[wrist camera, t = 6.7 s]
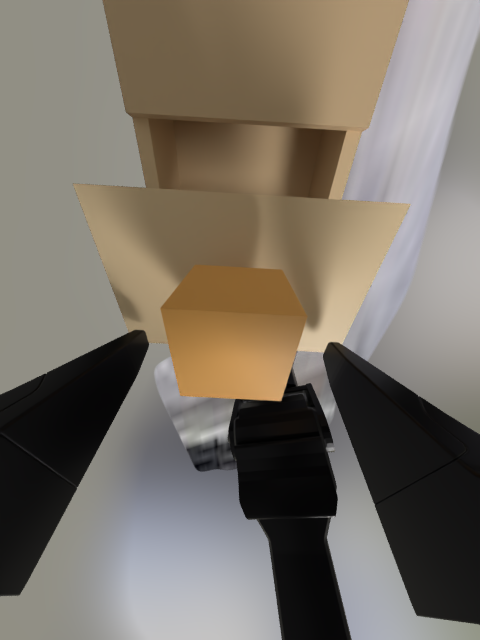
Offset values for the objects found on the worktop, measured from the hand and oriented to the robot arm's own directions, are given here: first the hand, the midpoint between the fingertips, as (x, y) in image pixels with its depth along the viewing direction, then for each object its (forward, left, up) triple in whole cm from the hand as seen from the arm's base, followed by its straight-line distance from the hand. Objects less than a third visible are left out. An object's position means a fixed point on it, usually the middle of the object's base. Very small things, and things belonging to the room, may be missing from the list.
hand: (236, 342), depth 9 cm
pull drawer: (+2, 0, -2) cm, 3 cm away
